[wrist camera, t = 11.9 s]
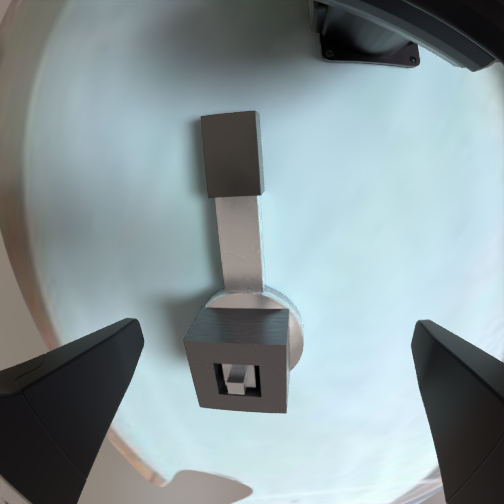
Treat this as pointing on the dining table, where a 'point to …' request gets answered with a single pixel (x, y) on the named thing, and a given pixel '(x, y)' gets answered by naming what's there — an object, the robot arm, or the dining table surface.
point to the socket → (240, 357)
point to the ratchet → (242, 229)
